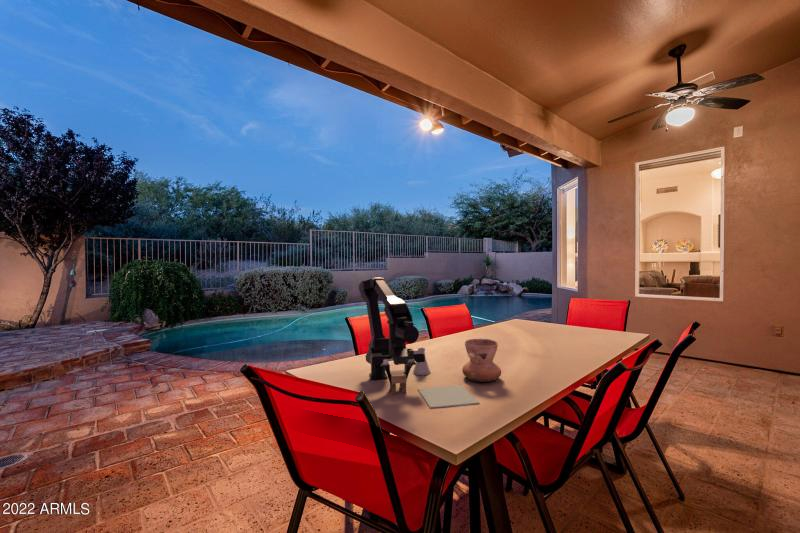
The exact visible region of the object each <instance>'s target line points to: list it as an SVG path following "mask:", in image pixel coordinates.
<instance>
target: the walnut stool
mask: <svg viewBox="0 0 800 533" xmlns="http://www.w3.org/2000/svg"><path fill="white" fill-rule="evenodd" d="M390 374H391V383H390V382H389V389H390V390H391V394H393V395H394V394H397V384H399V388H400V389H401V390H402V391H401V392H402V394H406V393H407V381H406V374H405V372H404V369H400V370H399V369H398V370H390Z"/></svg>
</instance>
